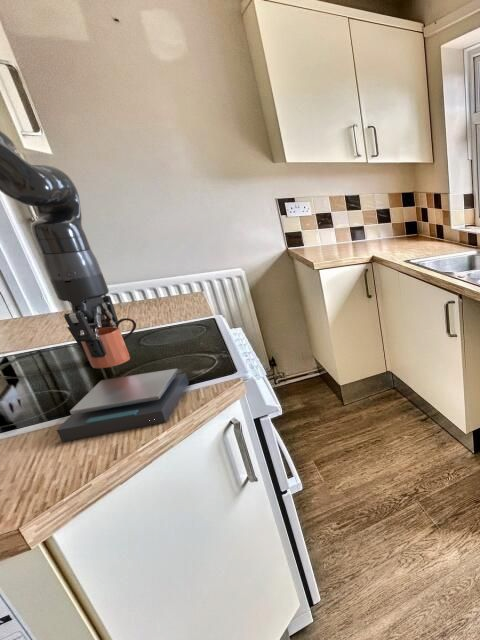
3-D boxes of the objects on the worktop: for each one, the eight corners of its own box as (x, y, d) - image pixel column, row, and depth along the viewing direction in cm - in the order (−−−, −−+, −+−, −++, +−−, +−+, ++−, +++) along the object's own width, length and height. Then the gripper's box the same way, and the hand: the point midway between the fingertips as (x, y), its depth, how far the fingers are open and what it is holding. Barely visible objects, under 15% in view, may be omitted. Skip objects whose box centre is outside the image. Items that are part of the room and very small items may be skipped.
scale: (62, 442, 74) (55, 428, 72) (103, 397, 88) (98, 385, 87) (166, 422, 79) (160, 409, 78) (189, 383, 93) (185, 371, 92)
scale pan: (71, 415, 76) (69, 411, 75) (102, 383, 87) (101, 380, 86) (159, 399, 80) (158, 395, 80) (178, 371, 91) (177, 368, 91)
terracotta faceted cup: (85, 370, 87) (72, 339, 84) (99, 358, 92) (86, 329, 90) (124, 365, 89) (111, 334, 87) (134, 354, 95) (124, 325, 92)
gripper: (69, 268, 88) (99, 341, 95) (29, 284, 76) (67, 367, 82) (114, 265, 91) (140, 336, 97) (82, 279, 79) (115, 360, 85)
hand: (106, 350), depth 90 cm, fingers closed on terracotta faceted cup, 6 cm apart
